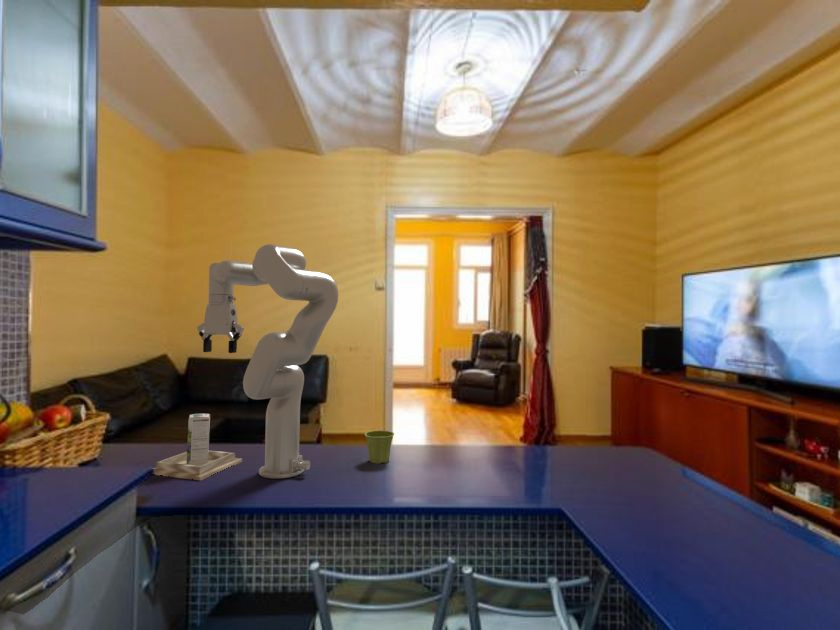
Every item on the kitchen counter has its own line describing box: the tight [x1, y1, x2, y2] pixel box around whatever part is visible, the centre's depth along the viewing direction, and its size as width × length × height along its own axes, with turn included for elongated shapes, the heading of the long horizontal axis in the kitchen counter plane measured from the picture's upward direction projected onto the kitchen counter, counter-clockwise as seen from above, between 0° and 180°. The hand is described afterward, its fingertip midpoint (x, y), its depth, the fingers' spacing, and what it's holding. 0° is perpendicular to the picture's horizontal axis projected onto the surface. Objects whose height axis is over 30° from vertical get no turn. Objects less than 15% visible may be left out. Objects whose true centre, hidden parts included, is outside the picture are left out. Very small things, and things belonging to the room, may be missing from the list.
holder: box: [152, 450, 243, 481], centre depth 138 cm, size 18×18×3 cm
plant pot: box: [364, 430, 395, 464], centre depth 147 cm, size 9×9×9 cm
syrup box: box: [186, 413, 211, 466], centre depth 138 cm, size 6×6×14 cm
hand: (219, 352), depth 153 cm, fingers open, 9 cm apart
